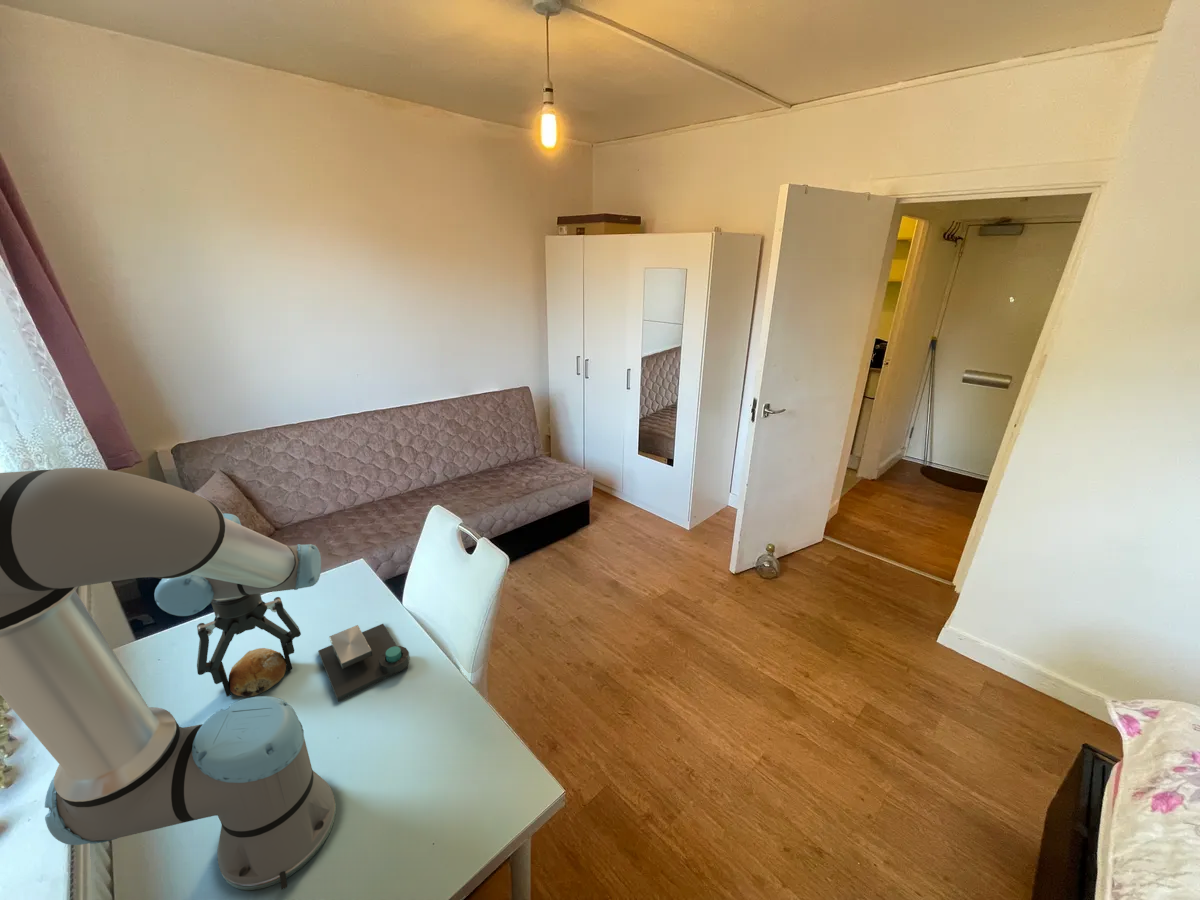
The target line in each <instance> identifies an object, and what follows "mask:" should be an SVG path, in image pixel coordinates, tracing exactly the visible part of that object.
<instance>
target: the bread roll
mask: <svg viewBox="0 0 1200 900" xmlns="http://www.w3.org/2000/svg"><path fill="white" fill-rule="evenodd" d="M286 671H287V664H286V660H285V657H284V654H283V653H281V652H279V651H277V650H274V649H272V648H265V647H260V648H255V649H253V650H249V651H247V652H246V653H245V654H244V655H243V656H242V657H241V658H240V659H239V660H238V661H237V662H235V663H234V665H232V667H231V670H230V672H229V675H228V683H229V688H230V691H231V694H233V695H235V696H237V697H244V698H249V697H256V696H258V695H260V694H262V693H265V692H267V691H268V690H270V689H271V688H272V687H274V686H275V685H277V684H279V682H281V680H282V679H283V678H284V676H285V674H286Z"/></svg>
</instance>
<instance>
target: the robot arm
mask: <svg viewBox="0 0 1200 900" xmlns="http://www.w3.org/2000/svg"><path fill="white" fill-rule="evenodd" d="M321 573H322V557H321V553H320V550H319V548H318V546H317V545H315V544H311V543H310V544H309V543H308V544H300V543H297V544H295V545H287V544H284V543H282V542H280V541H278V540H275V539H272V538H271V537H269V536H266V535H264V534H262V533H260V532H257V531H255V530H253V529H252V528H248V527H247V526H244V525H242V523H241V520H240V518H239V516H237V515H235V514H233V513H226V512H225V513H223V512H222V510H221V509H220V508H219V507H218V505H216V504H215V503H214V502H212V501H211V500H209V499H207V498H204V497H203V496H200V495H198V494H196V493H194V492H191V491H189V490H187V489H184V488H181V487H179V486H175V485H173V484H170V483H166V482H163V481H160V480H156V479H153V478H148V477H145V476H142V475H137V474H134V473H128V472H123V471H119V470H118V471H117V470H112V469H105V468H98V467H97V468H95V467H62V468H53V469H39V470H38V469H36V470H22V471H10V472H9V471H8V472H0V696H1V697H2V699H3V700H4V701H5V702H6V703H7V705H8V706H9V707H10V708H11V710H13V712H14V713H15V714H16V716H18V718H19V719H20V720H21V722H23V723H24V724H25V726H26V727H27V728H28V729H29V731H31V733H32V734H33V735H34V736H35V737H36V739H37V740H38V741H39V742H40V743H41V745H42V746H43V747H44V748H45V749H46V750H47V751H48V753H49V754H50V755H51V757H52V758H53V759H54V760H55V761H56V762H57V764H58V766H57V768H56V771H55V773H54V775H53V777H52V779H51V781H50V783H49V786H48V789H47V791H46V795H45V799H44V808H45V809H48V812H47V814H46V815H45V816H44V820H45V824H46V828H47V829H48V832H49V833H50V835H51V836H52V837H53V838H54V839H56V840H57V841H58V842H61V843H63V844H65V845H69V846H70V845H71V846H81V845H87V844H90V845H91V844H93V845H95V844H102V843H106V842H111V841H114V840H117V839H121V838H125V837H128V836H134V835H138V834H141V833H145V832H150V831H153V830H158V829H163V828H166V827H171V826H176V825H180V824H184V823H189V822H194V821H198V820H201V819H206V818H210V817H215V816H216V817H218V819H219V821H220V825H221V827H220V832H219V838H218V845H217V863H218V868H219V870H220V871H219V872H220V873H221V876H222V877H223V879H224V881H225V882H226V883H227V884H228V885H230V886H231V887H233V888H235V889H238V890H243V891H254V890H255V891H256V890H261V889H265V888H268V887H271V886H274V885H276V884H278V883H280V889H281V890H284V889H286V888H288V882H287V879H288V878H289V877H292V875H294V874H295V873H297V872H298V871H299V870H300V869H302V868H303V867H304V866H306V864H307V863H308V862H310V861H311V859H313V857H314V856H315V855H316V854H317V853H318V852H319V850H320V849H321V848H322V846H323V845H324V843H325V842H326V841H327V839H328V837H329V835H330V833H331V831H332V829H333V827H334V823H335V820H336V814H337V804H336V799H335V795H334V791H333V790H332V788H331V786H330V785H329V783H328V781H326V780H325V779H324V778H323V777H321V775H319V774H318V773H317V772H316V771H314V770H313V767H312V763H311V759H310V755H309V751H308V746H307V743H306V739H305V735H304V733H305V730H304V728H303V723H301V721H300V719H299V717H298V715H297V713H296V710H295V709H294V707H293V706H292V705H290V704H289V703H288V702H287V701H286V700H283V699H281V698H278V697H275V696H269V695H268V696H267V695H263V696H261V695H260V696H259V695H257V696H250V697H245V698H243V699H240V700H237V701H235V702H232V703H230V704H228V708H227V709H223V708H220V709H219V710H217V711H216V712H214V713H213V714H212V715H210V716H209V717H208V718H207V719H206V720H205V721H204V722H203V723H201V724H196V725H189V726H185V727H183V726H180V725H179V723H178V722H177V720H176V718H175V717H174V715H173V714H172V713H171V712H170V711H168V710H167V709H164V708H161V707H157V706H156V707H155V706H152V707H151V706H149V705H148V704H147V702H146V701H145V699H144V698H143V696H142V695H141V692H140V691H139V690H138V688H137V687H136V685H135V683H134V681H133V680H132V678H131V676H130V675H129V673H128V672H127V670H126V669H125V667H124V665H123V664H122V663H121V660H120V659H119V658H118V656H117V654H116V653H115V651H114V650H113V648H112V646H111V645H110V643H109V641H108V640H107V638H106V637H105V635H104V634H103V632H102V631H101V629H100V627H99V625H98V624H97V622H96V621H95V619H94V618H93V616H92V615H91V613H90V611H89V609H88V608H87V606H86V605H85V603H84V601H83V600H82V598H81V597H80V595H79V594H78V592H77V591H76V590H77V589H78V588H79V587H83V586H91V585H98V584H103V583H110V582H118V581H125V580H131V579H138V578H139V579H140V578H142V579H143V578H155V579H160V580H159V582H158V584H157V585H156V587H155V589H154V593H153V595H154V601H155V603H156V605H157V606H158V607H159V609H161V610H162V611H163V612H166V613H167V614H169V615H173V616H177V617H189V616H193V615H195V614H198V613H200V612H201V611H203V610H204V609H205V608H206V607H207V606H210V604H211V606H212V610H213V612H214V619H213V621H209V622H207V623H204V622H200V623H198V624H197V625H196V627H197V629H196V630H197V635H198V638H199V643H198V651H197V661H196V672H197V675H199V676H202V675H204V674H206V673H210V674H211V676H212V680H213V682H214V684H215V685H218V684H219V685H220V684H221V683H222V687H223V690H224V693H225V696H226V697H231V696H232V692H231V691H230V688H229V683H228V682H229V678H228V676H227V672H226V670H225V669H226V668H225V666H224V663H223V659H224V657H225V656H226V655H225V654H226V653H227V651H228V648H229V646H230V643H231V642H232V641H233V639H234V637H235V635H236V636H237V635H240V634H242V633H244V632H247V631H252V630H254V629H256V628H258V629H259V630H261V631H263V630H264V631H265V632H267V633H268V634H270V635H271V636H273V637H275V638H277V639H278V640H279V642H280V645H281V649H282V654H283V656H284V658H285V660H286V666H287V667H286V669H287V671H291V670H293V666H292V661H291V658H290V655H291V654H294V653H295V647H294V643H293V641H294V639H295V638H299V637H300V636H301V635H302V632H301V630H300V627H299V626H298V624H297V623H296V621H295V620H294V619H293V618H292V616H290V614H289V612H287V610H286V609H285V608H284V604H283V601H282V598H281V597H280V596H276V597H275V598H274V599H273V600H272V601H268V602H265V601H263V599H262V595H261V594H264V593H265V594H266V593H275V592H285V591H298V590H299V589H305V588H311V587H313V586H315V585H316V584H317V583H318V582H319V580H320V577H321ZM268 610H270V611H271V612H272V613H276V614H277V616H278V617H279V619H280V620H281V621H282V623H283V624H284V625H285V627H286V628H287V629H288V630H286V629H285V628H283V627H282V626H280V625H278V624H276V623H275V622H274V621H272V620H270V619H268V617H266V616H265V614H266V612H267V611H268ZM214 629H218V630H221V631H222V632H221V635H220V638H219V640H218V643H217V644H216V647H215V649H214V651H213V654H212V656H211V658H210V659H209V660H208V653H209V646H210V636H211V635H212V634H213V633H214Z"/></svg>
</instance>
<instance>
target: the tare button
mask: <svg viewBox="0 0 1200 900" xmlns="http://www.w3.org/2000/svg"><path fill="white" fill-rule="evenodd" d="M397 646H398V645H396V646H394V647H391V648H389V649H388V650H387V651H386V659H387V661H388V662H389V663H394V662H397V661H398V660H400V658H401V649H400V648H399V647H397Z"/></svg>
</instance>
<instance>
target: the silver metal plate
mask: <svg viewBox="0 0 1200 900" xmlns="http://www.w3.org/2000/svg"><path fill="white" fill-rule="evenodd" d="M362 632H363V631H362V630H361V628H360V626H359V625H358V624H357V625H354V626H351V627H349V628H347V629H344V630H342V631H339V632H336V633H334V634H332V635H330V636H329V637H328V638H329V642H330V644H331V645H332V647H333V649H334V651H335V653H336V656H337V658H338V660H339V662H340V665H341V667H342V669H344V668H346V667H348V666H350V665H353V664H355V663H357V662H359V661H361V660H364V659H366V658H368V657H370V656H372V650H371V649H370V647H369V645H368V643H367V641H366V639H365V637H364V635H363V634H362Z"/></svg>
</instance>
